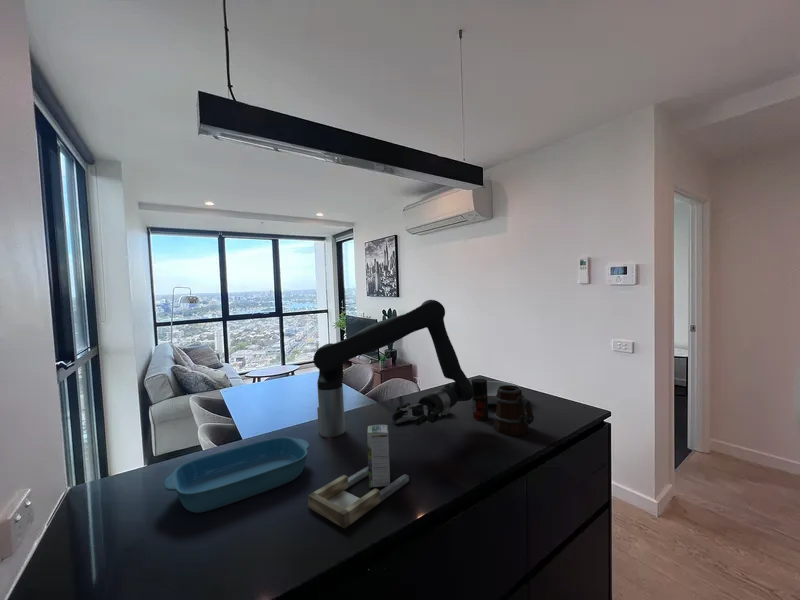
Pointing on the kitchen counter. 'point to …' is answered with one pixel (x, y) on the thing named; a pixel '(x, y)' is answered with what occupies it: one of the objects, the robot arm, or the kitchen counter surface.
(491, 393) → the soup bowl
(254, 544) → the kitchen counter surface
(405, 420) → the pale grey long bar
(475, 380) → the deodorant
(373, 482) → the syrup box
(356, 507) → the socket
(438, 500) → the kitchen counter surface
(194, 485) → the casserole dish
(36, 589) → the kitchen counter surface
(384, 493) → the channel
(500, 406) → the mug
